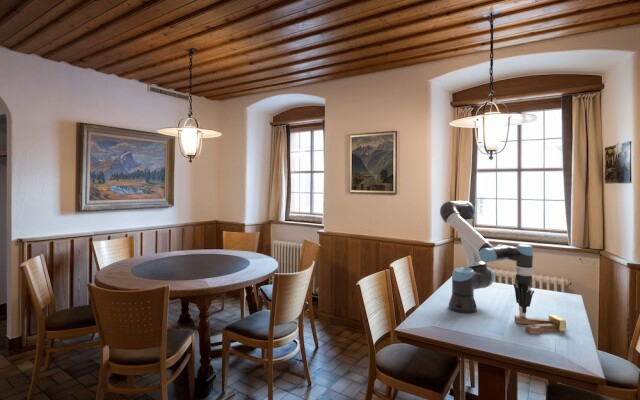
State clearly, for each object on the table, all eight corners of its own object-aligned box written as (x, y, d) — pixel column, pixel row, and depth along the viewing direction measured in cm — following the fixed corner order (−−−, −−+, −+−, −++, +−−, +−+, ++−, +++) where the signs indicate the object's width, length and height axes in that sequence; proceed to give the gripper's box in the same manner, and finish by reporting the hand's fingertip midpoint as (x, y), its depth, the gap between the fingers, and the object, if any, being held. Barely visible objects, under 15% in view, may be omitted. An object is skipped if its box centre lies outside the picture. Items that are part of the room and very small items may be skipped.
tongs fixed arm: (524, 330, 176) (525, 324, 175) (559, 328, 178) (559, 323, 178) (530, 334, 171) (531, 328, 171) (565, 332, 173) (566, 326, 173)
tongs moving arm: (514, 320, 188) (514, 315, 188) (562, 324, 182) (562, 319, 182) (517, 324, 182) (517, 319, 182) (566, 329, 176) (567, 324, 176)
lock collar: (548, 325, 181) (548, 315, 180) (553, 325, 181) (554, 314, 181) (559, 331, 173) (560, 320, 173) (565, 331, 174) (565, 320, 174)
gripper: (509, 271, 193) (508, 313, 194) (525, 277, 180) (524, 323, 181) (522, 270, 194) (520, 313, 195) (539, 277, 181) (537, 322, 182)
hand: (522, 318), depth 188 cm, fingers closed
